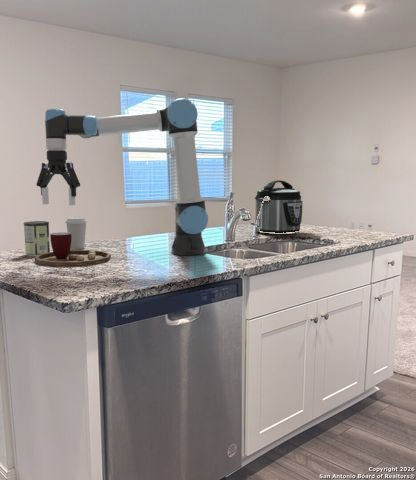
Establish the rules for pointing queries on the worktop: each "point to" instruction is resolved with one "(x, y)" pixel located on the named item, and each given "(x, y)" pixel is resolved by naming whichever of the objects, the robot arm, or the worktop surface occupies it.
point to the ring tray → (72, 259)
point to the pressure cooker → (279, 208)
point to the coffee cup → (77, 231)
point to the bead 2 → (91, 256)
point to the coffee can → (36, 237)
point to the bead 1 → (80, 258)
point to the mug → (61, 244)
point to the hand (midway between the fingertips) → (58, 204)
